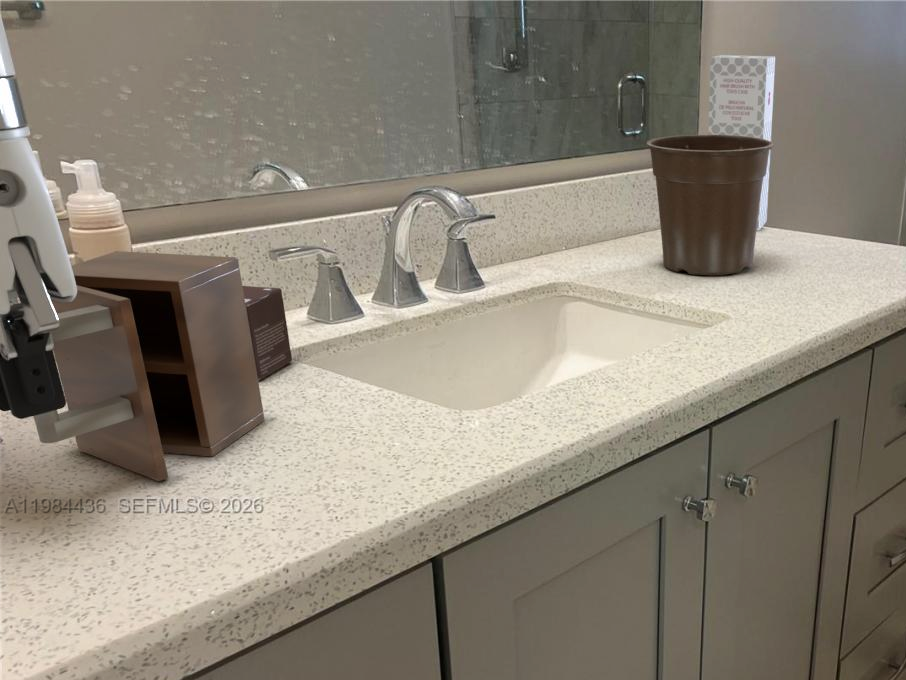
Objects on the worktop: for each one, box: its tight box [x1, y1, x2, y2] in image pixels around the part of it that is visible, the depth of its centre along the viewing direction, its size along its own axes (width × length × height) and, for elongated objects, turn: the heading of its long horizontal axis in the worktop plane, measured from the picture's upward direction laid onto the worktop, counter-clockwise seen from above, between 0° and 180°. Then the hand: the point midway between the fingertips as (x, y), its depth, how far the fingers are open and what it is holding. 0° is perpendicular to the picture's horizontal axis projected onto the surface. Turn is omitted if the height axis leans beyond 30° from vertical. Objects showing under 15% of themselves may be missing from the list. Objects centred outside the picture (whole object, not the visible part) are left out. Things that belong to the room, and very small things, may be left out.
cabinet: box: [71, 250, 265, 457], centre depth 81 cm, size 8×10×14 cm
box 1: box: [242, 285, 293, 381], centre depth 97 cm, size 6×6×7 cm
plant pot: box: [646, 134, 774, 277], centre depth 137 cm, size 16×16×16 cm
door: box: [10, 285, 169, 482], centre depth 73 cm, size 7×10×13 cm
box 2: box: [707, 54, 776, 232], centre depth 163 cm, size 8×8×25 cm
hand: (31, 407), depth 68 cm, fingers closed
